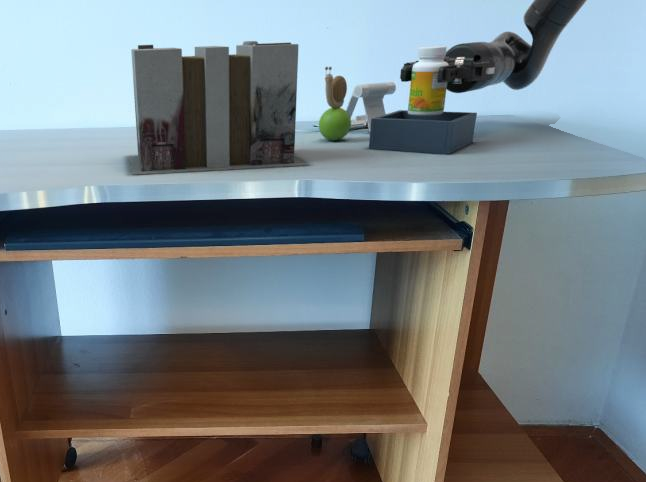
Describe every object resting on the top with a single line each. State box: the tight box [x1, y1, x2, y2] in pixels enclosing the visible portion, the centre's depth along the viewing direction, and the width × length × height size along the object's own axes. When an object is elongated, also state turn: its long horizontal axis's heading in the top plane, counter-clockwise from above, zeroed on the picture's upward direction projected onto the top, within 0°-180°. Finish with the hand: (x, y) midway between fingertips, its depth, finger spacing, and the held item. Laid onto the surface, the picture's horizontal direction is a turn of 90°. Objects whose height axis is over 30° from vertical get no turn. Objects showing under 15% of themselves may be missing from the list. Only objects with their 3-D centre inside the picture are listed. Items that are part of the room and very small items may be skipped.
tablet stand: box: [344, 81, 397, 133], centre depth 119 cm, size 9×8×8 cm
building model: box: [129, 40, 307, 176], centre depth 94 cm, size 16×25×16 cm, turn 96°
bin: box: [368, 109, 478, 155], centre depth 102 cm, size 13×13×5 cm
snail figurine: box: [318, 66, 352, 142], centre depth 108 cm, size 5×6×12 cm
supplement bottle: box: [407, 45, 449, 116], centre depth 99 cm, size 5×5×10 cm
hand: (421, 74), depth 97 cm, fingers closed on supplement bottle, 5 cm apart
